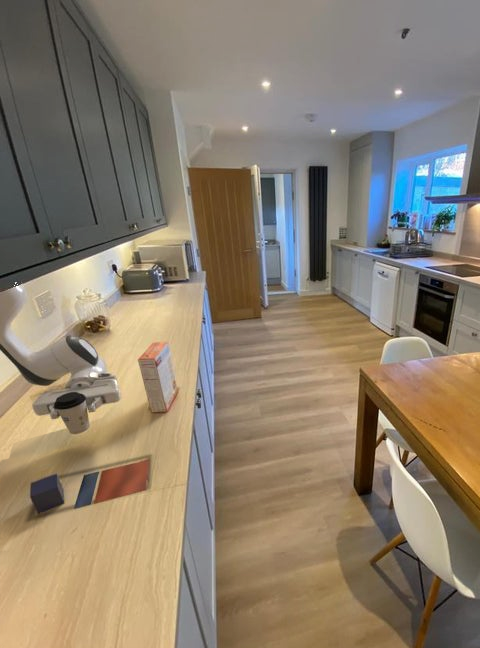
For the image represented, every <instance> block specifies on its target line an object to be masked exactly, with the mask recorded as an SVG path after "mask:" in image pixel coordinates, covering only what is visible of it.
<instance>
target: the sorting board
mask: <svg viewBox="0 0 480 648" xmlns="http://www.w3.org/2000/svg"><path fill="white" fill-rule="evenodd" d="M150 463H151V460H150V458H148V459H144V460H140V461H137V462H133V463H128V464H123V465H120V466H116V467H111V468H108V469H103V470H101V473H100V471H94V472H91V473H85V474H84V475H83V477H82V479H81V483H80V487H79V490H78V493H77V496H76V500H75V503H74V506H73V509H74V510H75V509H79V508H84V507H86V506H90V505H92V504H98V503H102V502H105V501H109V500H113V499H117V498H121V497H125V496H129V495H132V494H133V495H134V494H136V493H140V492H143V491H146V490H147V486H148V485H147V484H148V483H149V481H150V480H149V479H150ZM99 474H100V476H99ZM98 479H99V481H98ZM97 484H98V486H97ZM96 487H97V490H96ZM95 491H96V493H95ZM94 494H95V498H94ZM93 499H94V502H93Z"/></svg>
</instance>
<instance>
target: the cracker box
mask: <svg viewBox="0 0 480 648" xmlns="http://www.w3.org/2000/svg"><path fill="white" fill-rule="evenodd" d="M137 362H138V366H139V370H140V374H141V378H142V382H143V386H144V390H145V394H146V397H147V398H146V399H147V401H148V406H149V410H150V413H167V412H168V411H169V410H170V408H171V406H172V404H173V401H174V400H175V398H176V395H177V394H178V393H179V388H178V382H177V379H176V374H175V368H174V364H173V357H172V353H171V347H170V343H169V341H164V342H163V341H162V342H159V341H158V342H157V341H156V342H154V341H153V342H152V343H151V344H150V345H149V347H147V349H146V350H145V351H144V352H143V353H142V355H140V356H139V357H138V358H137Z"/></svg>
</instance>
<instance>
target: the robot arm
mask: <svg viewBox="0 0 480 648" xmlns="http://www.w3.org/2000/svg"><path fill="white" fill-rule="evenodd" d="M16 283H17V282H15V284H16ZM17 285H18V284H17ZM14 286H15V285H14ZM27 294H28V293H27V290H26V287H25V285H24V284H23V283H22V284H21V285H19V286H16V287H13V288H11V289H8V290H6V291H4V292H0V352H1V353H2V354H3V355H4V356H5V357H6V358H7V359H8V360H9V361H10V362H11V363H12V364H13V365H14V366H15V367H16V369H17V370H18V372H19V373H20V375H21V376H22V377H23V378H24V380H25V381H27V383H29V384H31V385H34V386H41V387H48V386H51V385H53V384H54V383H56V382H57V381H58V380H60V379H61V378H63V377H65V376H66V375H68V374H71V375H70V377H69V379H68V380H67V382H66V384H65V387H64V388H59V389H52V390H47V391H44V392H43V393H41V394H40V395H39V396H38V397H37V398H36V399H35V400H34V401H33V402H32V405H31V406H32V409H33V412H34V414H35V415H36V416H38V417H40V416H47V415H49V416H50V419H51V420H57V419H60V418H61V416H60V415H59V413H58V411H57V409H56V408H54V403H55V401H56V399H57V398H58V397H59V396H61V395H63V394H66V393H69V392H78V393H81V394H83V395H85V396H86V406H87V412H88V414H90V413H96V411H97V410H98V409H99V408H101V406H104V405H109V404H113V403H118V402H119V401H121V399H122V393H121V389H120V386H119V385H120V384H119V382H118V379H117V377H116V375H115V373H111V372H110V373H109V372H108V367H107V362H106V360H105V359H104V358H103V357H101V356H100V355H99V354H98V352H97V350H96V348H95V347H94V346H93V345H92V344H91V343H90V342H89V341H88V340H87V339H85V338H83V337H80V336H77V335H68V334H67V335H66V336H64V337H62V338H60V339H58V340H56V341H55V342H53V343H52V344H49V345H47V346H45V347H43V348H42V349H39V350H38V351H33V350H32V351H31V350H30V349H29V348H28V347H27V346H26V345H25V343H23V341H22V340H21V339H20V338H19V337H18V336H17V335H16V334H15V332H14V331H13V329H12V327H11V324H12V322H13V321H14V319H16V317H18V314H20V313H21V311H22V309H24V306H25V304H26V302H27V297H28V295H27Z"/></svg>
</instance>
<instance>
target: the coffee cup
mask: <svg viewBox="0 0 480 648" xmlns="http://www.w3.org/2000/svg"><path fill="white" fill-rule="evenodd" d="M54 408H56V409H57V411H58V413H59V415H60V419H61V420H62V421H63V424H64V426H66V428H67V430H68V432H69V434H72V435H79V434H82V433H85V432H86V431H88V430H89V429H90V426H91V425H90V418H89V412H88V409H87V406H86V396H85V395H83V394H81V393H78V392H69V393H66V394H63V395H61V396H59V397H58V398H57V399H56V401H55V403H54Z"/></svg>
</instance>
